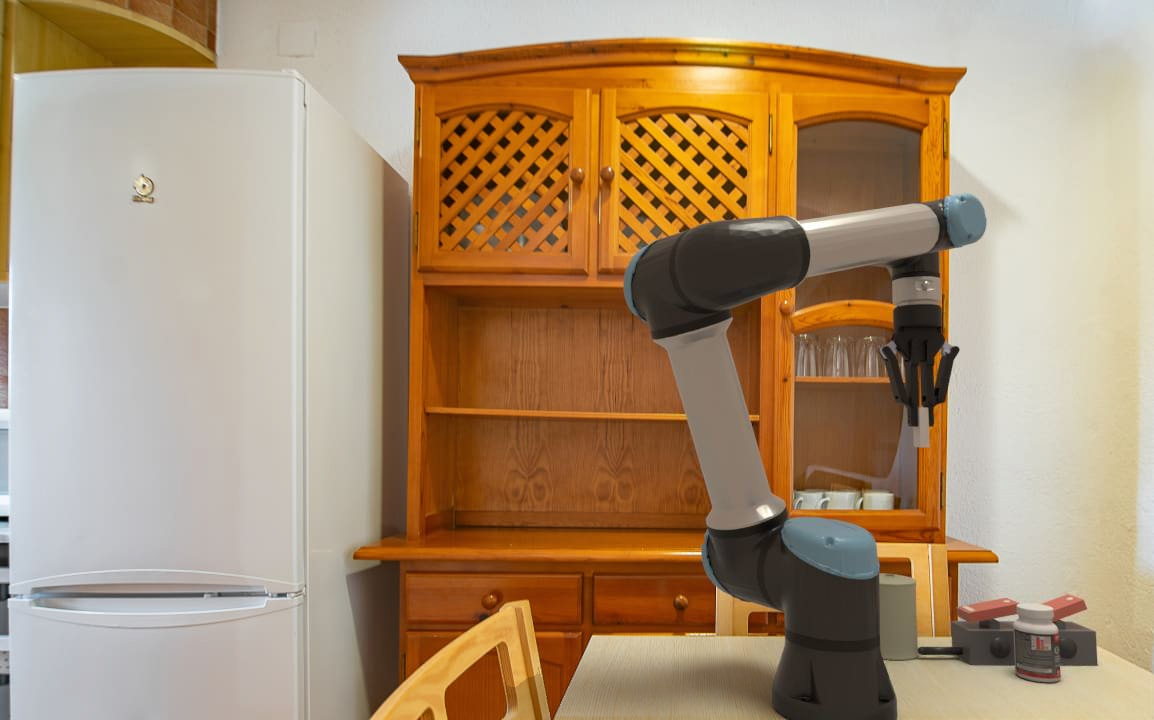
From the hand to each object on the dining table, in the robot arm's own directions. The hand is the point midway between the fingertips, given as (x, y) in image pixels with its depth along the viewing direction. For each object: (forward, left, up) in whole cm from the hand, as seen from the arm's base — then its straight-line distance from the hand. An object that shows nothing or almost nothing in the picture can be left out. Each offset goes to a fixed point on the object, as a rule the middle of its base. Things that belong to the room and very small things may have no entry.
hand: (921, 446), depth 131 cm
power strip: (+9, -6, -32) cm, 34 cm away
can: (-8, -2, -33) cm, 34 cm away
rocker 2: (+17, -6, -25) cm, 31 cm away
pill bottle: (+9, -15, -33) cm, 37 cm away
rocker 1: (+7, -6, -25) cm, 27 cm away
